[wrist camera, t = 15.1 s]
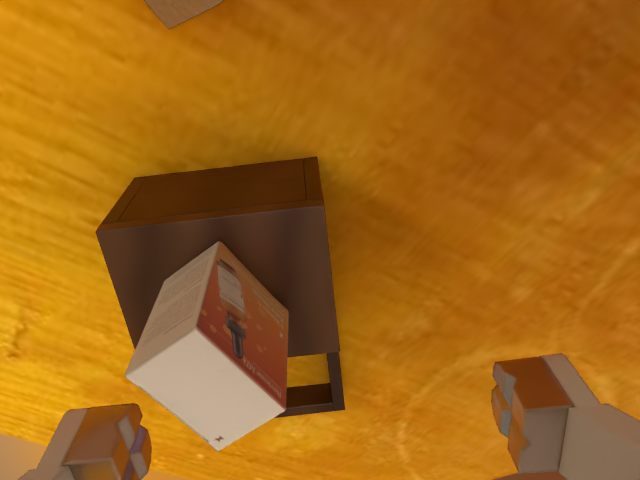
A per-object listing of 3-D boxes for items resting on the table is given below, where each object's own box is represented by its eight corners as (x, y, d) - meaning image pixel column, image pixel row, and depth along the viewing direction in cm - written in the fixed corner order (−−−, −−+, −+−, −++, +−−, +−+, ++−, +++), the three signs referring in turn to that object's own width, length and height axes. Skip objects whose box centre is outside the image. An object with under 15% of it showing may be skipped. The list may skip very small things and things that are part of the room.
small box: (290, 310, 41) (290, 412, 31) (234, 346, 42) (218, 455, 33) (219, 236, 37) (196, 327, 28) (161, 279, 39) (121, 378, 29)
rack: (317, 156, 46) (324, 204, 37) (342, 389, 58) (352, 470, 49) (134, 177, 46) (94, 231, 37) (198, 406, 58) (181, 489, 49)
